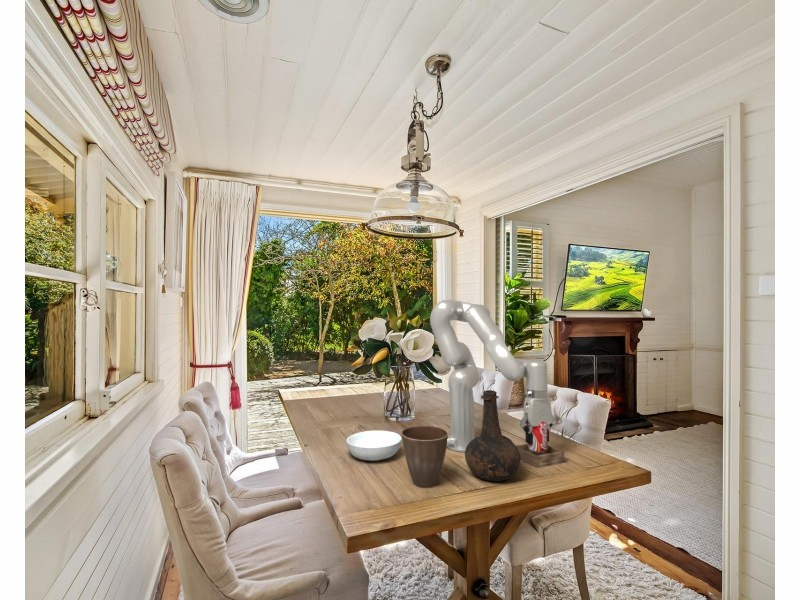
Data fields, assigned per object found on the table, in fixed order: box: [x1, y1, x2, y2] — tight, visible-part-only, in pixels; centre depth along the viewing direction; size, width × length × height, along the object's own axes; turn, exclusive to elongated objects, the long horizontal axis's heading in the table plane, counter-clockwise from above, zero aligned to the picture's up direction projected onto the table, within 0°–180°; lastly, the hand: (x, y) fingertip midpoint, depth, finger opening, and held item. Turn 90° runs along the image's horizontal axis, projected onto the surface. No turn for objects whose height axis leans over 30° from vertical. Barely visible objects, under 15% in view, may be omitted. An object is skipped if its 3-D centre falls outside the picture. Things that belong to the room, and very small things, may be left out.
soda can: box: [527, 420, 549, 453], centre depth 146 cm, size 7×7×12 cm
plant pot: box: [401, 425, 449, 489], centre depth 126 cm, size 15×15×16 cm
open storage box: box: [515, 443, 568, 469], centre depth 146 cm, size 14×14×4 cm
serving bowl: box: [346, 430, 403, 462], centre depth 149 cm, size 21×21×7 cm
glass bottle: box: [464, 389, 522, 482], centre depth 131 cm, size 18×18×28 cm
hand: (537, 441), depth 146 cm, fingers closed on soda can, 7 cm apart
